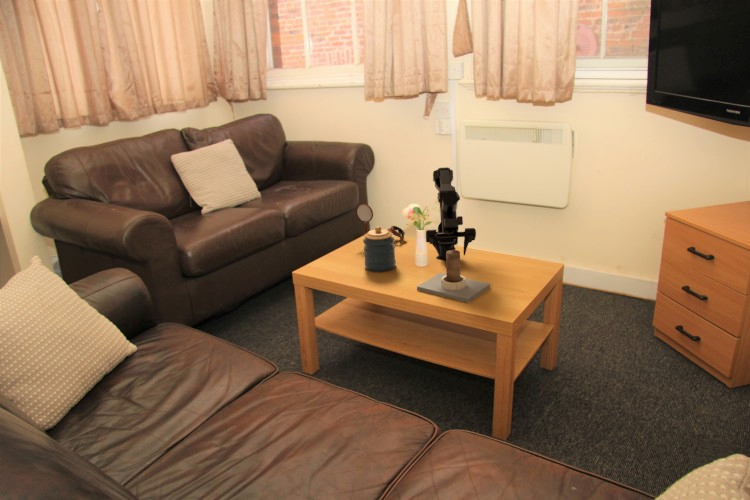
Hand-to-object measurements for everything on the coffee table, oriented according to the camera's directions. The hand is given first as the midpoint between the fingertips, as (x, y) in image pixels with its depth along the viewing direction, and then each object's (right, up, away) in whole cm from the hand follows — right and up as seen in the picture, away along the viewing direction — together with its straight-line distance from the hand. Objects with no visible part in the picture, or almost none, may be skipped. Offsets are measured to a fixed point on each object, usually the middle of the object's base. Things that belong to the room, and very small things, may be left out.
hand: (452, 255), depth 221 cm
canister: (-27, -5, +26) cm, 37 cm away
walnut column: (0, -11, -1) cm, 11 cm away
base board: (0, -12, 0) cm, 12 cm away
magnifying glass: (-33, +4, +52) cm, 62 cm away
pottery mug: (-21, +6, +55) cm, 59 cm away
